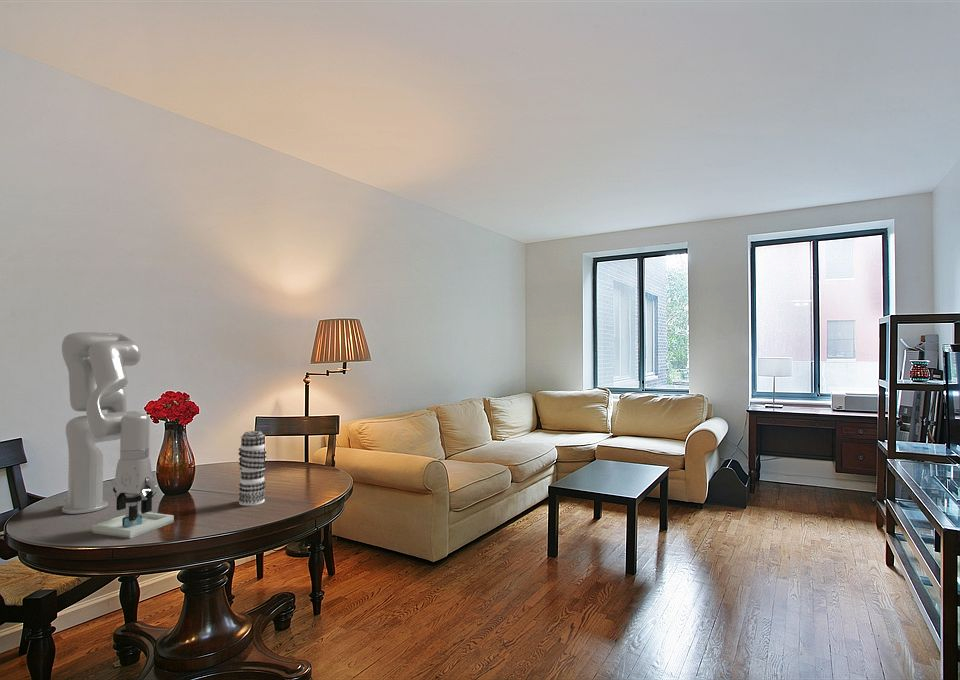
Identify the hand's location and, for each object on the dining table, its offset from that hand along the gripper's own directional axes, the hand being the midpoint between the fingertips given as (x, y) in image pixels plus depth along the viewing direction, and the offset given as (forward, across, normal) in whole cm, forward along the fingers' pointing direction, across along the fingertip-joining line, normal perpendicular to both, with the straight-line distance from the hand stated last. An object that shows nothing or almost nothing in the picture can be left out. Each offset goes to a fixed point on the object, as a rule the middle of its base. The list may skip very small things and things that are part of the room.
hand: (134, 510), depth 166 cm
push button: (+4, 0, 0) cm, 5 cm away
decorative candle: (+5, +16, +34) cm, 37 cm away
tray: (+5, 0, 0) cm, 5 cm away
